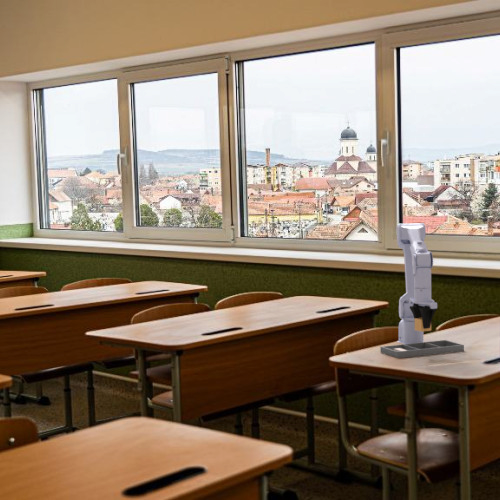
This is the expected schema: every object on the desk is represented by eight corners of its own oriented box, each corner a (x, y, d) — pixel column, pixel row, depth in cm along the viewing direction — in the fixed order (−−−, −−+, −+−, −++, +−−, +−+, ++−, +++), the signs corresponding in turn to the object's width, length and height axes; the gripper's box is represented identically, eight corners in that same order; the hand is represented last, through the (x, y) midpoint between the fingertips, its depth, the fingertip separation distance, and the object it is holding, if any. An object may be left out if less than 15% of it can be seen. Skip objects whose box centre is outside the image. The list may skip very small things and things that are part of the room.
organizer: (380, 353, 315) (380, 346, 315) (445, 346, 325) (445, 339, 325) (397, 359, 305) (397, 352, 305) (463, 351, 315) (463, 344, 314)
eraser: (393, 352, 313) (393, 348, 313) (399, 352, 314) (399, 348, 314) (401, 355, 309) (401, 351, 309) (407, 354, 310) (407, 350, 310)
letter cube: (414, 329, 312) (414, 318, 312) (424, 328, 313) (424, 317, 313) (421, 331, 308) (421, 319, 308) (431, 330, 310) (431, 318, 309)
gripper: (444, 289, 304) (445, 329, 306) (421, 284, 318) (421, 323, 319) (426, 290, 302) (427, 331, 303) (403, 286, 315) (404, 325, 316)
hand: (423, 327), depth 311 cm, fingers closed on letter cube, 4 cm apart
